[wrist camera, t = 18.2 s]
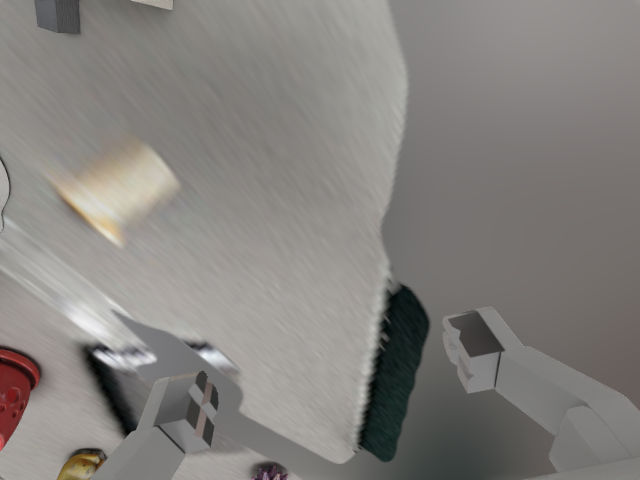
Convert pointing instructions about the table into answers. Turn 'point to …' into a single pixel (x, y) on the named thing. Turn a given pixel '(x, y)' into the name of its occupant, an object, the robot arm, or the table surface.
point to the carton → (158, 3)
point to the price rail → (58, 15)
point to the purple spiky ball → (270, 475)
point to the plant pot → (14, 390)
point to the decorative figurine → (82, 465)
